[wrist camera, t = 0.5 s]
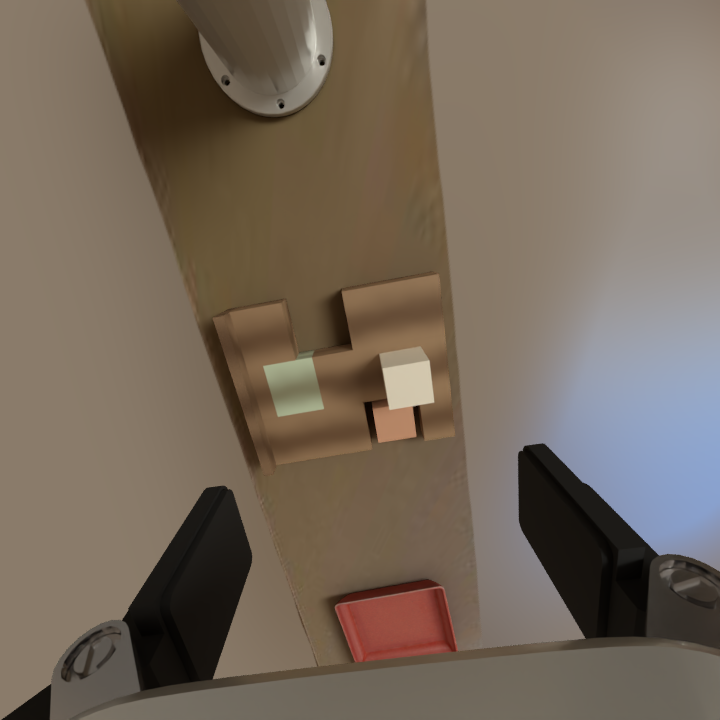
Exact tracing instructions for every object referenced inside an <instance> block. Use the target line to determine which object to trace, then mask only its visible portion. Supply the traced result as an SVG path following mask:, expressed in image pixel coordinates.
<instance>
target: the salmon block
mask: <svg viewBox="0 0 720 720" xmlns="http://www.w3.org/2000/svg"><path fill="white" fill-rule="evenodd" d="M372 408H373V414H374V420H375V425H376V431H377V437H378V443H380V442H387V441H393V440H400V439H406V438H413V437H416V429H415V421H414V414H413V406H411V407H405V408H399V409H393V410H389V405H388V401H387V398H386V399H380V400H375V401H372Z"/></svg>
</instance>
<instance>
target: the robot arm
mask: <svg viewBox="0 0 720 720" xmlns="http://www.w3.org/2000/svg"><path fill="white" fill-rule="evenodd" d="M176 1H177V2H178V4H179V5H180V6H181V8H182V9H183V10H184V12H185V13H186V14H187V16H188V17H189V19H190V20H191V21H192V23H193V24H194V25H195V27H196V28H197V29H198V33H199V39H200V44H201V50H202V53H203V55H204V58H205V61H206V64H207V66H208V68H209V70H210V72H211V74H212V76H213V78H214V79H215V80H216V82H217V83H218V84H219V86H220V87H221V88H222V90H223V91H224V92H225V93H226V94H227V95H228V96H229V97H230V98H231V99H232V100H233V101H234V102H235V103H237V104H238V105H239V106H240V107H242V108H244V109H246V110H248V111H250V112H251V113H254V114H258V115H261V116H266V117H280V116H287V115H290V114H292V113H295V112H297V111H299V110H300V109H302V108H303V107H305V106H306V105H308V104H309V103H310V102H311V101H312V100H313V99H314V98H315V97H316V96H317V94H318V92H319V91H320V89H321V88H322V86H323V85H324V82H325V80H326V78H327V75H328V73H329V69H330V65H331V61H332V54H333V31H332V24H331V18H330V13H329V10H328V6H327V3H326V0H176ZM321 62H324V63H325V64H324V65H323V66H320V63H321ZM227 82H230V84H229V85H228V86H226V84H227ZM281 104H283V105H284V108H283V109H280V105H281ZM518 484H519V523H520V526H521V529H522V531H523V533H524V535H525V536H526V538H527V540H528V542H529V543H530V545H531V547H532V548H533V550H534V552H535V553H536V555H537V557H538V559H539V560H540V562H541V563H542V565H543V567H544V569H545V570H546V572H547V574H548V575H549V577H550V579H551V580H552V582H553V584H554V586H555V587H556V589H557V591H558V592H559V594H560V596H561V597H562V599H563V601H564V602H565V604H566V606H567V608H568V609H569V611H570V612H571V614H572V616H573V618H574V619H575V621H576V623H577V624H578V626H579V628H580V630H581V631H582V633H583V635H584V636H585V638H586V639H579V640H567V641H555V642H543V643H533V644H523V645H513V646H504V647H495V648H484V649H475V650H465V651H456V652H446V653H437V654H428V655H418V656H409V657H400V658H391V659H382V660H373V661H364V662H355V663H346V664H337V665H329V666H320V667H312V668H303V669H294V670H286V671H278V672H269V673H260V674H252V675H243V676H235V677H227V678H220V679H213V676H214V673H215V670H216V667H217V664H218V661H219V658H220V655H221V653H222V650H223V647H224V643H225V641H226V638H227V635H228V632H229V629H230V626H231V623H232V620H233V617H234V614H235V611H236V608H237V605H238V602H239V599H240V596H241V593H242V590H243V588H244V585H245V582H246V579H247V576H248V573H249V570H250V567H251V563H252V552H251V549H250V546H249V542H248V540H247V536H246V533H245V530H244V526H243V523H242V520H241V517H240V514H239V510H238V507H237V504H236V501H235V498H234V494H233V492H232V490H230V489H229V490H228V489H227V487H226V486H217V487H209V488H206V489H205V490H204V491H203V493H202V494H201V496H200V498H199V499H198V501H197V502H196V504H195V506H194V507H193V509H192V510H191V512H190V513H189V515H188V516H187V518H186V520H185V521H184V523H183V524H182V526H181V527H180V529H179V530H178V532H177V534H176V535H175V537H174V538H173V540H172V541H171V543H170V544H169V546H168V548H167V549H166V551H165V552H164V554H163V555H162V557H161V559H160V560H159V562H158V563H157V565H156V566H155V568H154V569H153V571H152V572H151V574H150V576H149V577H148V579H147V580H146V582H145V583H144V585H143V587H142V588H141V590H140V591H139V593H138V594H137V596H136V597H135V599H134V601H133V602H132V604H131V605H130V607H129V608H128V609H129V610H128V612H127V614H126V615H125V617H124V618H123V620H122V621H121V620H111V621H108V622H104V623H101V624H99V625H97V626H96V627H94V628H92V629H90V630H89V631H87V632H86V633H85V634H83V635H82V636H81V637H79V638H78V639H77V640H76V641H75V642H74V643H73V644H72V645H71V646H70V647H69V648H68V649H67V650H66V652H65V653H64V654H63V655H62V657H61V658H60V659H59V661H58V663H57V665H56V667H55V668H54V671H53V675H52V681H51V684H50V685H49V686H47V687H46V688H45V689H43V690H42V691H41V692H39V693H38V694H37V695H35V696H34V697H32V698H31V699H29V700H28V701H27V702H25V703H24V704H23V705H21V706H20V707H18V708H17V709H16V710H14V711H13V712H12V713H10V714H9V715H7V716H6V717H5V718H3V719H2V720H720V572H719V571H717V570H716V569H714V568H713V567H711V566H709V565H707V564H705V563H703V562H701V561H698V560H696V559H693V558H689V557H686V556H681V555H673V554H666V555H661V556H659V555H658V554H657V553H656V552H655V551H654V550H653V549H652V548H651V547H650V546H649V545H648V544H647V543H646V542H645V541H644V540H643V539H642V538H641V537H640V536H639V535H638V534H637V533H636V532H635V531H634V530H633V529H632V528H631V527H630V526H629V525H628V524H627V523H626V522H625V521H624V520H623V519H622V518H621V517H620V516H619V515H618V514H617V513H616V512H615V511H614V510H613V509H612V508H611V507H610V506H609V505H608V504H607V503H606V502H605V501H604V500H603V499H602V498H601V497H600V496H599V495H598V494H597V493H596V492H595V491H594V490H593V489H592V488H591V487H590V486H589V485H587V484H585V483H582V482H581V481H580V479H579V478H578V477H577V476H575V474H574V473H573V472H572V471H571V470H570V469H569V468H568V467H567V466H566V465H565V464H564V463H563V462H562V461H561V460H560V459H559V458H558V457H557V456H556V455H555V454H554V453H553V452H552V451H551V450H550V449H549V448H548V447H547V446H546V445H545V444H535V445H528V446H524V448H523V451H520V452H519V454H518ZM212 679H213V680H212Z"/></svg>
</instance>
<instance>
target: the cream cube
mask: <svg viewBox="0 0 720 720" xmlns="http://www.w3.org/2000/svg"><path fill="white" fill-rule="evenodd" d="M379 356H380V362H381V367H382V373H383V379H384V385H385V391H386V396H387V401H388V405H389V410H393V409H399V408H405V407H411V406H417V405H423V404H429V403H434V395H433V386H432V378H431V369H430V361H429V359H428V357H427V356H426V354H425V353H424V351H423V349H422V348H421V346H420V347H415V348H409V349H403V350H397V351H392V352H386V353H380V354H379Z"/></svg>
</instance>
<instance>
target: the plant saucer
mask: <svg viewBox="0 0 720 720" xmlns="http://www.w3.org/2000/svg"><path fill="white" fill-rule="evenodd" d="M335 610H336V613H337V616H338V619H339V621H340V624H341V626H342V629H343V632H344V634H345V637H346V640H347V642H348V645H349V647H350V650H351V653H352V655H353V658H354V661H355V662H364V661H373V660H382V659H391V658H400V657H409V656H418V655H428V654H437V653H446V652H456V651H458V648H457V644H456V639H455V634H454V629H453V625H452V621H451V616H450V612H449V608H448V603H447V598H446V594H445V589H444V588H443V587H442V586H441V585H440V584H438V583H436V582H434V581H431V580H423V581H417V582H412V583H406V584H401V585H395V586H389V587H384V588H378V589H373V590H367V591H362V592H356V593H351V594H348V595H347V596H345V597H344V598H343V599H341V600H340V601H339V602H338V603H337V604H336V605H335Z"/></svg>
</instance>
